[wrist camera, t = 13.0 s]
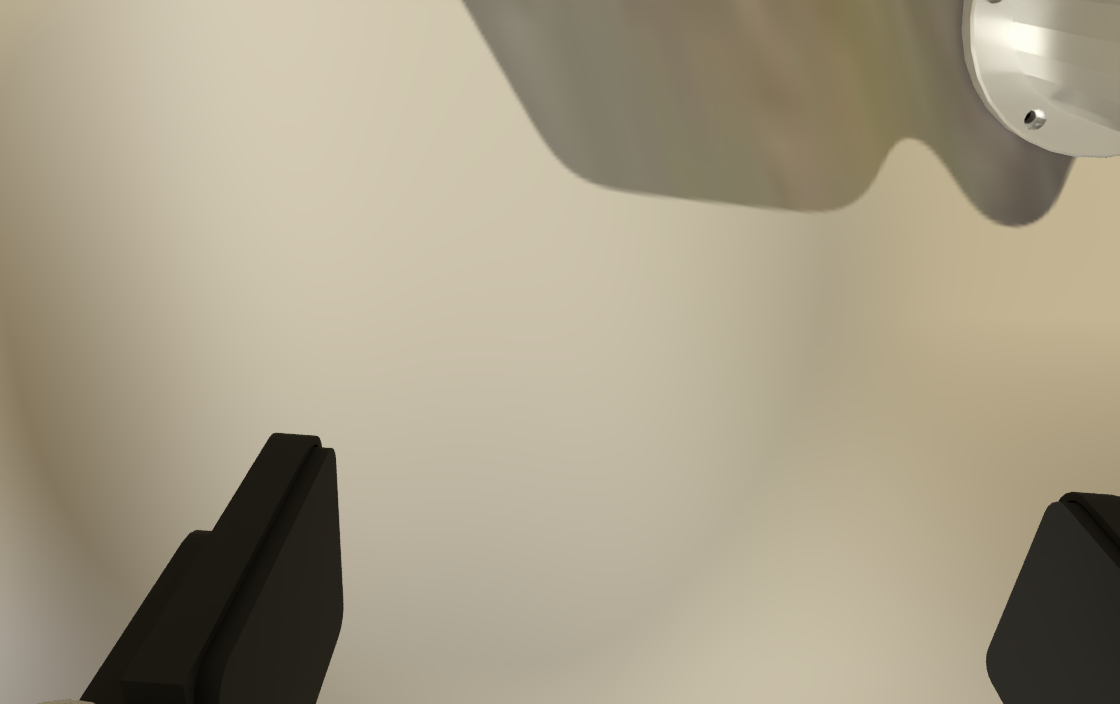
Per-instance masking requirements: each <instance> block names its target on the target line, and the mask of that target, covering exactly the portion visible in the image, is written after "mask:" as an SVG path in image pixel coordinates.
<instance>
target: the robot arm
mask: <svg viewBox="0 0 1120 704" xmlns="http://www.w3.org/2000/svg"><path fill="white" fill-rule="evenodd" d="M962 38H963V47H964V56H965V62H966V65H967V68H968V71H969V74H970V77H971V80H972V83H973V86H974V88H975V89H976V91H977V93H978V94H979V96H980V98H981V99H982V101H983V103H984V104H985V106H986V108H987V109H988V110H989V111H990V112H991V113H992V114H993V115H994V116H995V117H996V118H997V119H998V120H999V121H1000V123H1001V124H1002V125H1003V126H1004V127H1005V128H1007V129H1008V130H1010V131H1012V132H1013V133H1015V134H1016V135H1018V136H1020V137H1021V138H1023V139H1025V140H1026V141H1028V142H1030V143H1032V144H1035V145H1037V146H1040V147H1042V148H1044V149H1046V150H1049V151H1052V152H1056V153H1061V154H1065V155H1070V156H1074V157H1097V158H1098V157H1099V158H1102V157H1103V158H1107V157H1113V156H1120V0H964V5H963V18H962ZM1030 111H1031V115H1030V117H1029V118H1028V119H1027V120H1026V121H1024V119H1025V117H1026V115H1027V113H1029V112H1030ZM335 456H336V455H335V452H334V449H333V448H323V447H322V444H321V440H320V438H319V437H318V436H312V435H299V434H285V433H273V434H272V435H271V436H270V437H269V439H268V441H267V442H266V444H265V446H264V447H263V449H262V450H261V452H260V454H259V455H258V457H257V458H256V460H255V462H254V463H253V465H252V467H251V468H250V470H249V471H248V473H247V475H246V477H245V478H244V480H243V481H242V483H241V485H240V486H239V488H238V489H237V491H236V493H235V494H234V496H233V497H232V499H231V501H230V502H229V504H228V506H227V507H226V509H225V511H224V512H223V514H222V515H221V517H220V519H219V520H218V522H217V523H216V525H215V527H214V528H213V530H212V531H202V530H196V531H193V532H191V533H190V534H189V535H188V536H187V537H186V538H185V540H184V541H183V542H182V543H181V545H180V546H179V548H178V549H177V551H176V553H175V554H174V556H173V557H172V559H171V560H170V562H169V563H168V565H167V566H166V568H165V569H164V571H163V572H162V574H161V575H160V577H159V579H158V580H157V582H156V583H155V585H154V586H153V588H152V589H151V591H150V592H149V594H148V595H147V597H146V598H145V600H144V601H143V603H142V605H141V606H140V608H139V609H138V611H137V612H136V614H135V615H134V617H133V618H132V620H131V621H130V623H129V625H128V626H127V628H126V629H125V631H124V632H123V634H122V636H121V637H120V638H119V640H118V641H117V643H116V645H115V646H114V647H113V649H112V651H111V652H110V654H109V655H108V657H107V658H106V660H105V661H104V663H103V665H102V666H101V667H100V669H99V670H98V672H97V674H96V675H95V677H94V678H93V680H92V681H91V683H90V684H89V686H88V687H87V689H86V691H85V692H84V694H83V695H82V697H81V698H80V700H72V699H66V700H57V701H47V702H42V703H39V704H316V701H317V698H318V695H319V693H320V690H321V687H322V683H323V680H324V678H325V675H326V672H327V669H328V666H329V663H330V660H331V657H332V654H333V651H334V648H335V646H336V643H337V640H338V636H339V633H340V630H341V624H342V619H343V586H342V568H341V549H340V529H339V510H338V490H337V473H336V472H337V470H336V457H335ZM986 666H987V672H988V675H989V678H990V680H991V682H992V684H993V686H994V687H995V690H996V691H997V693H998V695H999V697H1000V698H1001V700H1002V702H1003V704H1120V497H1119V496H1115V495H1108V494H1095V493H1080V492H1070V493H1066V494H1065V495H1063V496H1062V497H1061V498H1060V500H1059V502H1054V503H1052V504H1050V505H1049V506H1048V507H1047V509H1046V511H1045V513H1044V515H1043V518H1042V520H1041V523H1040V525H1039V528H1038V530H1037V532H1036V535H1035V537H1034V539H1033V542H1032V544H1031V547H1030V549H1029V552H1028V554H1027V556H1026V559H1025V561H1024V564H1023V566H1022V569H1021V571H1020V573H1019V576H1018V578H1017V580H1016V583H1015V585H1014V588H1013V590H1012V593H1011V595H1010V597H1009V600H1008V602H1007V605H1006V607H1005V610H1004V612H1003V614H1002V617H1001V619H1000V621H999V624H998V626H997V629H996V631H995V633H994V636H993V638H992V641H991V643H990V646H989V648H988V651H987V656H986Z"/></svg>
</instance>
